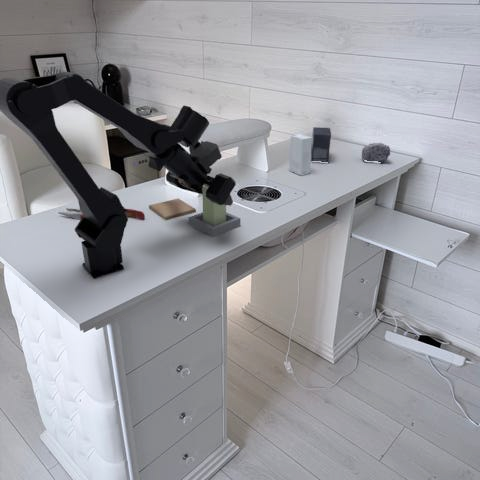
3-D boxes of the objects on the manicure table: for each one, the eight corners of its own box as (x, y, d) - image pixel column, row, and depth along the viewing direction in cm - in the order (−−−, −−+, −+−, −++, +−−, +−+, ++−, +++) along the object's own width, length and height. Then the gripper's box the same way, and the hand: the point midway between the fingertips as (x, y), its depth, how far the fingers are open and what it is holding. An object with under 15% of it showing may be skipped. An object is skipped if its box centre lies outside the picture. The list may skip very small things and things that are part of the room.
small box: (310, 154, 165) (312, 126, 160) (327, 155, 164) (330, 127, 160) (310, 162, 156) (313, 133, 151) (328, 164, 155) (332, 134, 150)
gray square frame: (213, 236, 103) (213, 229, 102) (188, 224, 108) (188, 217, 107) (240, 225, 108) (240, 218, 108) (215, 214, 114) (215, 207, 113)
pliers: (78, 206, 118) (76, 197, 116) (147, 220, 111) (146, 210, 110) (46, 224, 108) (44, 214, 106) (120, 240, 101) (119, 229, 100)
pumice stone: (364, 162, 166) (356, 161, 158) (369, 141, 164) (361, 139, 156) (392, 166, 161) (385, 165, 152) (397, 145, 159) (390, 143, 151)
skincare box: (310, 173, 145) (313, 137, 139) (299, 176, 143) (303, 139, 137) (297, 168, 149) (300, 133, 144) (287, 171, 147) (290, 135, 142)
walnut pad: (165, 219, 110) (165, 217, 110) (149, 208, 117) (148, 205, 116) (195, 211, 115) (195, 209, 115) (178, 201, 122) (178, 198, 121)
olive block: (213, 230, 106) (213, 191, 101) (203, 225, 108) (202, 186, 104) (226, 225, 108) (226, 187, 104) (215, 220, 111) (214, 183, 106)
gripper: (229, 141, 89) (263, 180, 101) (173, 125, 101) (209, 161, 113) (201, 186, 88) (239, 221, 100) (147, 165, 99) (187, 198, 111)
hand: (218, 198), depth 106 cm, fingers open, 9 cm apart
